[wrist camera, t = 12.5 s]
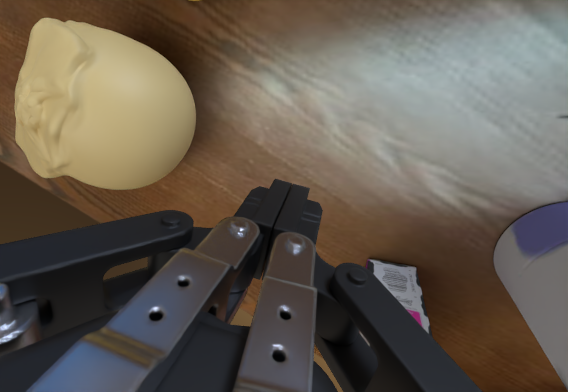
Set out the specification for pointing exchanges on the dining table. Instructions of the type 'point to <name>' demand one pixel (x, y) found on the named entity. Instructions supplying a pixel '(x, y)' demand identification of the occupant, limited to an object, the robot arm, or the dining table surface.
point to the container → (539, 277)
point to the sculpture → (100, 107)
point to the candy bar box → (401, 289)
